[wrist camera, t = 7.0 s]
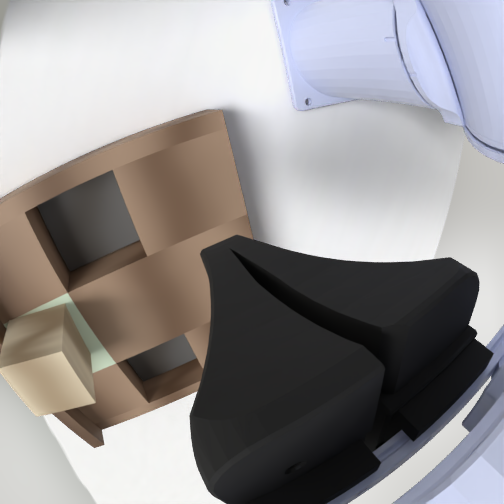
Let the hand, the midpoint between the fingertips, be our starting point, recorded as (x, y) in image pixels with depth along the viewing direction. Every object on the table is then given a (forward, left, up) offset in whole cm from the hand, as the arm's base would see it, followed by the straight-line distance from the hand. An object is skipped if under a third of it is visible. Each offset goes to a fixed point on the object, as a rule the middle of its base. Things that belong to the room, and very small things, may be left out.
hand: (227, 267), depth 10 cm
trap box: (+5, +5, -9) cm, 12 cm away
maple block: (+10, +4, -7) cm, 13 cm away
